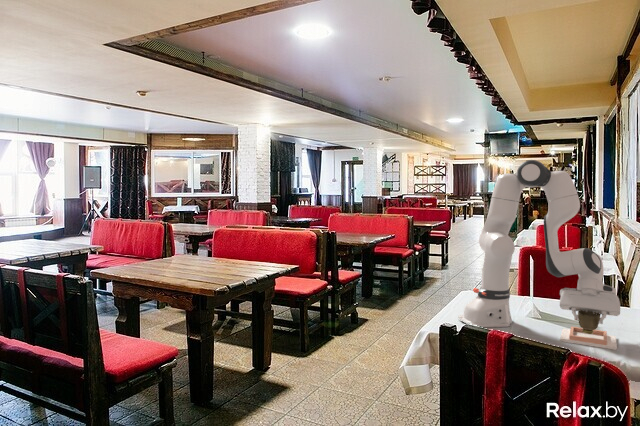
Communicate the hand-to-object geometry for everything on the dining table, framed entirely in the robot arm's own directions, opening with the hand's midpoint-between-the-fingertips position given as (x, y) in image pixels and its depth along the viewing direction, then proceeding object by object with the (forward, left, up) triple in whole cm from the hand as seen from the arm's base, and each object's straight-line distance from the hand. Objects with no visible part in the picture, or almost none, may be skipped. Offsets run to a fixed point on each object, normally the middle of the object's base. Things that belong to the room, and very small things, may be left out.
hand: (588, 321), depth 173 cm
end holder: (0, 0, -7) cm, 7 cm away
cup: (0, 0, -5) cm, 5 cm away
